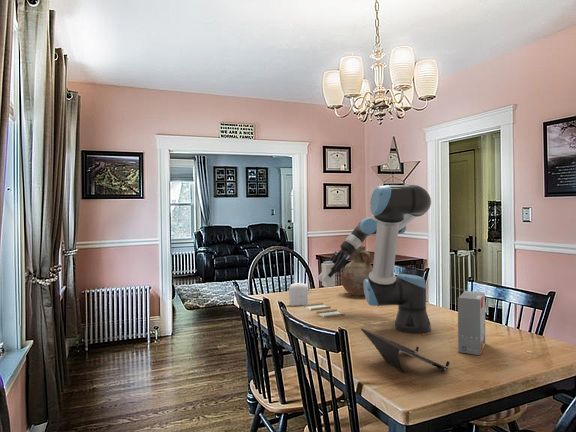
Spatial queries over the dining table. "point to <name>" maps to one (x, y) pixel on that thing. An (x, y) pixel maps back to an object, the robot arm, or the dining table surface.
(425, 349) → the dining table surface
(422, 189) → the robot arm
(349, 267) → the jug
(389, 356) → the portable electronic device stand
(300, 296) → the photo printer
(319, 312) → the dock board
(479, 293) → the hard drive box
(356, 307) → the dining table surface
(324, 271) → the white rectangular box
